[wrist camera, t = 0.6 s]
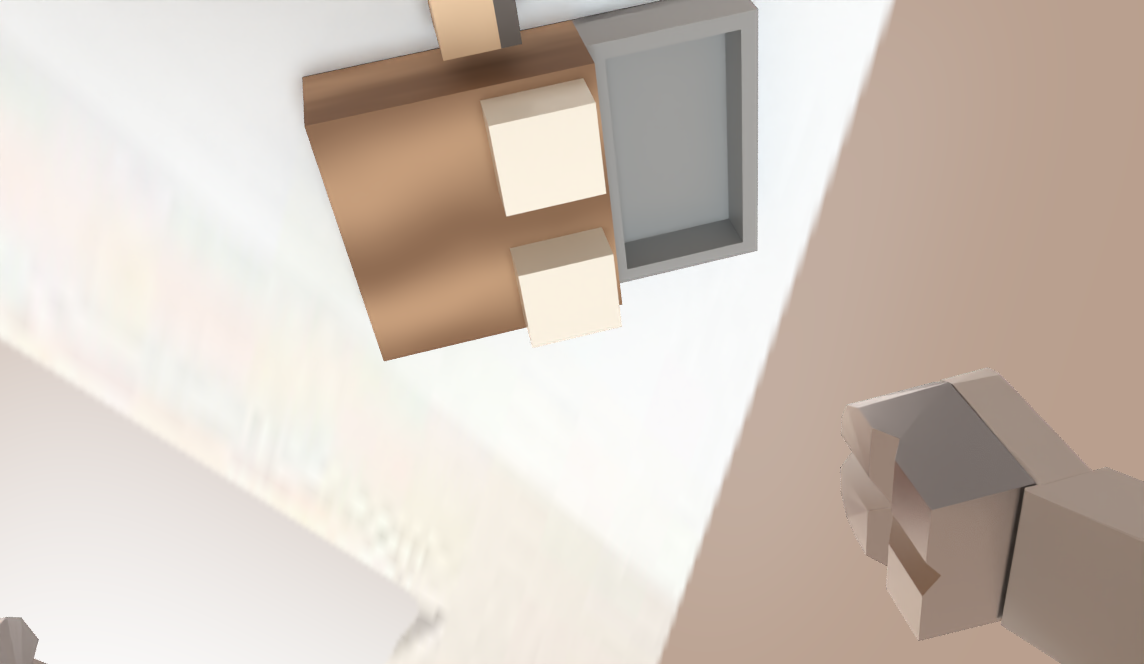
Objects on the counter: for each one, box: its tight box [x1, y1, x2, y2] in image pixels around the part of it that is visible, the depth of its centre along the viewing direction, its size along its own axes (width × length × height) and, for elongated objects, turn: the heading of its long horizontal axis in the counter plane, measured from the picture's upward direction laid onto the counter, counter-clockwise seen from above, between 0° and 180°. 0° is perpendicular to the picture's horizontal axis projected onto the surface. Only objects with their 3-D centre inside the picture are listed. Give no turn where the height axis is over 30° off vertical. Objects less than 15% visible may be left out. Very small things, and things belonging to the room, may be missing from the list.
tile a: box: [480, 78, 606, 217], centre depth 39 cm, size 4×4×2 cm
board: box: [302, 20, 622, 361], centre depth 43 cm, size 12×11×4 cm
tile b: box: [510, 227, 622, 348], centre depth 43 cm, size 4×4×2 cm
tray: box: [572, 0, 758, 283], centre depth 44 cm, size 12×7×2 cm, turn 7°
